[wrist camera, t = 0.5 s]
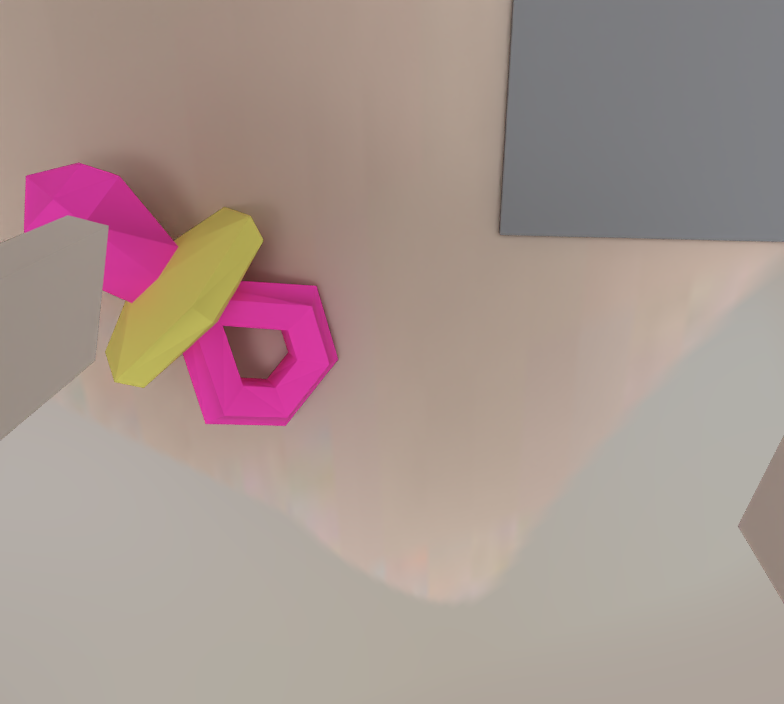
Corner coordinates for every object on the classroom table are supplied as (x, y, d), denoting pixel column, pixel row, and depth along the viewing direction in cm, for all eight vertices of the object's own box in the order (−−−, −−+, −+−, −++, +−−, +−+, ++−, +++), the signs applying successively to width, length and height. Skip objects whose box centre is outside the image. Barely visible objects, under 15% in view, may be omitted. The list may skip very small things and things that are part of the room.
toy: (235, 432, 47) (281, 501, 38) (-37, 247, 38) (-61, 280, 29) (335, 305, 48) (405, 344, 38) (90, 97, 39) (106, 83, 30)
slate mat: (529, -276, 32) (530, -284, 32) (969, -286, 31) (982, -296, 30) (499, 231, 40) (499, 234, 39) (850, 240, 39) (857, 243, 38)
